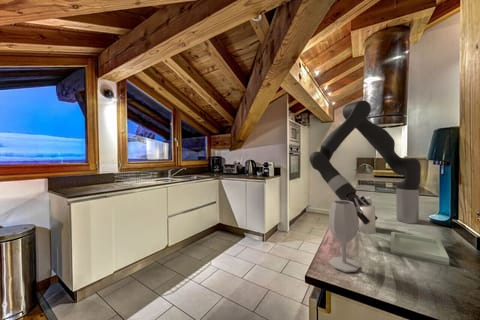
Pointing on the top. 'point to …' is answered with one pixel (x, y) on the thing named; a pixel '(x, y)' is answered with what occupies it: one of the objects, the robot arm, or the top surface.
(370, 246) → the top surface
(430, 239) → the tray
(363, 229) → the white domed cylinder
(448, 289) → the top surface
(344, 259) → the wineglass
